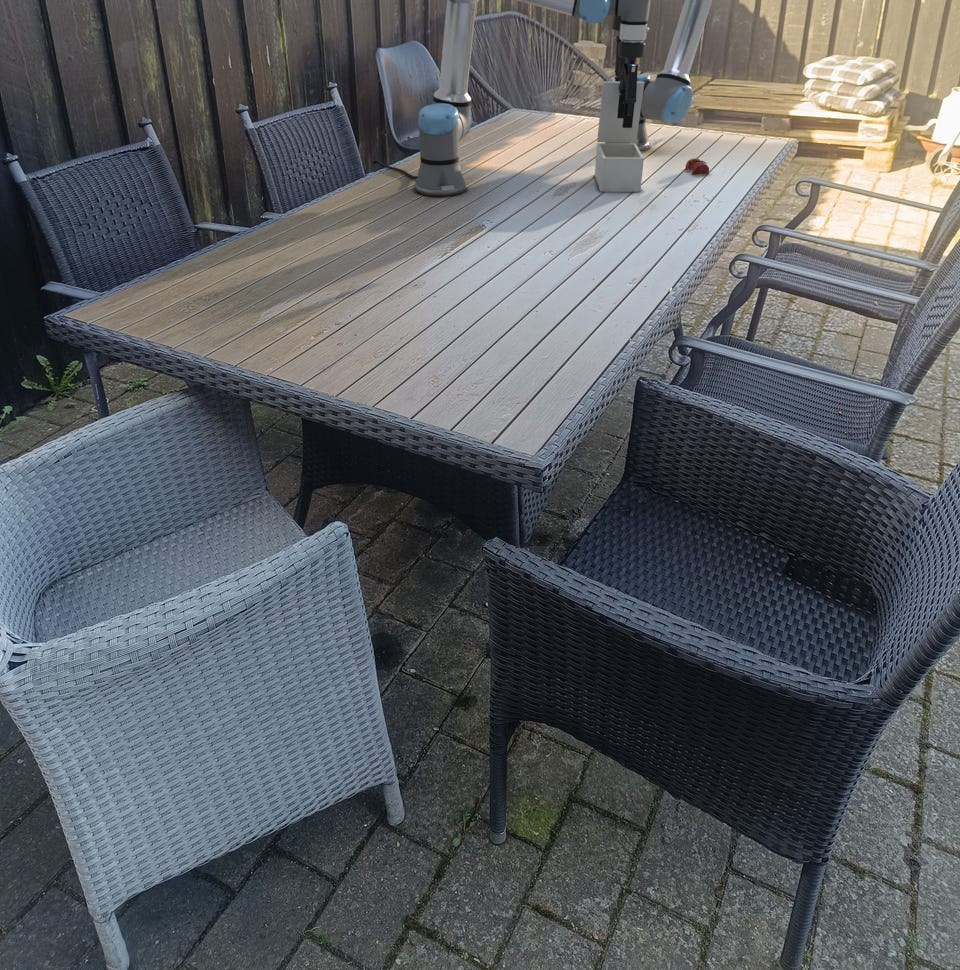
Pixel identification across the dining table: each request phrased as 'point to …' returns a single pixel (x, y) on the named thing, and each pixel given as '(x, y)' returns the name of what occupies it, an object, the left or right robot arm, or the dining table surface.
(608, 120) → the lid
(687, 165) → the dark red lumpy piece
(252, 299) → the dining table surface
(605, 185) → the chest
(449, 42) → the left robot arm
